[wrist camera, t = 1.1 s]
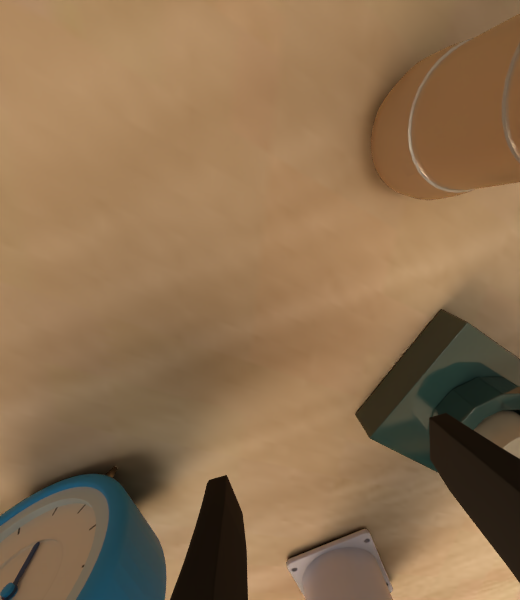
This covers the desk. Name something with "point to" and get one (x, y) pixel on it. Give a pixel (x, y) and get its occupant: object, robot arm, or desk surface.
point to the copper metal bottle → (454, 119)
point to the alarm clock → (80, 545)
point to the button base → (441, 386)
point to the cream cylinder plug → (502, 430)
